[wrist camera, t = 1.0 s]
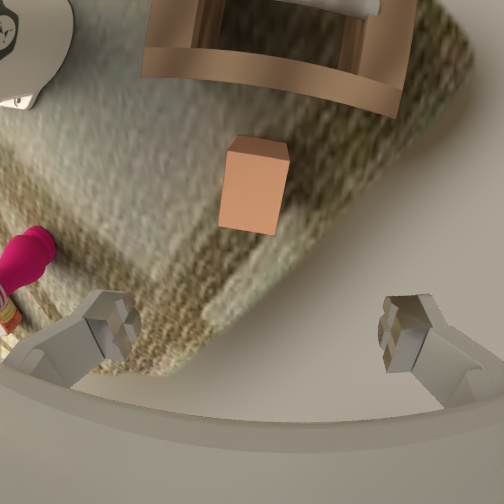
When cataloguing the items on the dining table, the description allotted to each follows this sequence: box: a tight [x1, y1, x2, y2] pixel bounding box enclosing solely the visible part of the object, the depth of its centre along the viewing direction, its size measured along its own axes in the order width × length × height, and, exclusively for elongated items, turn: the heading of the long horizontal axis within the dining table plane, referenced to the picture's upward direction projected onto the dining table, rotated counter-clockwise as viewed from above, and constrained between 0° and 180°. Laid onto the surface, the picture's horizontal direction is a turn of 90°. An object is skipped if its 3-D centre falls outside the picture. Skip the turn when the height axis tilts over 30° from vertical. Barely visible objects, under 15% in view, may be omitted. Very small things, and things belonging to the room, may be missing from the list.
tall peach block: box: [218, 135, 290, 235], centre depth 29 cm, size 5×7×8 cm
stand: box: [141, 0, 417, 119], centre depth 18 cm, size 16×14×14 cm
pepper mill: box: [0, 226, 56, 311], centre depth 31 cm, size 7×7×20 cm
